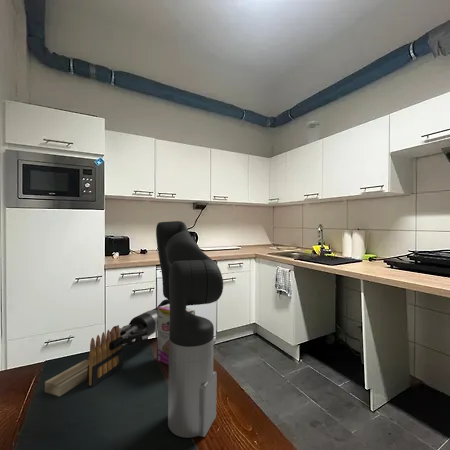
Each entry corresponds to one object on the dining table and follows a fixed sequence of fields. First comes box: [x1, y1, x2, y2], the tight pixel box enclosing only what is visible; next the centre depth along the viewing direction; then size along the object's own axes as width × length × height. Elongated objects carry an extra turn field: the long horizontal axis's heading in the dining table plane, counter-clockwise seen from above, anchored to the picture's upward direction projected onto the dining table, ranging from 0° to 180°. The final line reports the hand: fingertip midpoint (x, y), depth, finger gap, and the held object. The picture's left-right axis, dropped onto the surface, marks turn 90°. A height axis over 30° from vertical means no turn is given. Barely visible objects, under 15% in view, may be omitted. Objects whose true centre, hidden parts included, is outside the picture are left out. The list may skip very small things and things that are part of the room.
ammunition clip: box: [86, 324, 124, 388], centre depth 69 cm, size 11×2×12 cm, turn 160°
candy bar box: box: [156, 304, 196, 367], centre depth 77 cm, size 11×5×16 cm, turn 58°
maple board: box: [44, 357, 89, 397], centre depth 69 cm, size 5×16×2 cm, turn 160°
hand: (107, 345), depth 70 cm, fingers closed on ammunition clip, 1 cm apart
